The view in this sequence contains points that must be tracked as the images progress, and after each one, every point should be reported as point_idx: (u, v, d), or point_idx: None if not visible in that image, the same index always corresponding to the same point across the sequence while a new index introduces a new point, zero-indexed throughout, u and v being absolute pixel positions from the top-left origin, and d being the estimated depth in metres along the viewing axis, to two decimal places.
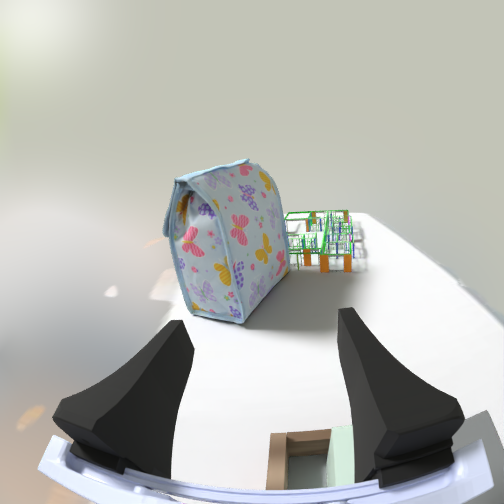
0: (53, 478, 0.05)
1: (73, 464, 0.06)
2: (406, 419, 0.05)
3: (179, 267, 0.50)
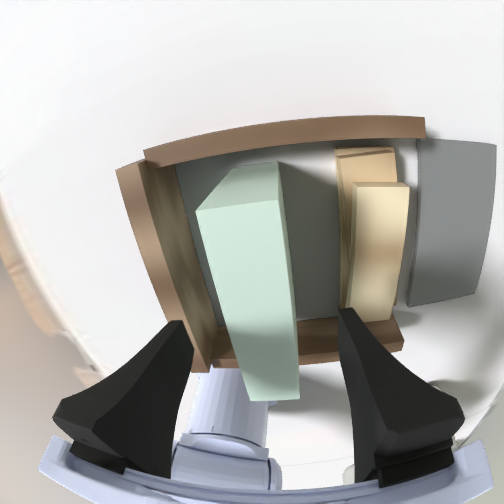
0: (53, 478, 0.05)
1: (73, 464, 0.06)
2: (406, 419, 0.05)
3: None
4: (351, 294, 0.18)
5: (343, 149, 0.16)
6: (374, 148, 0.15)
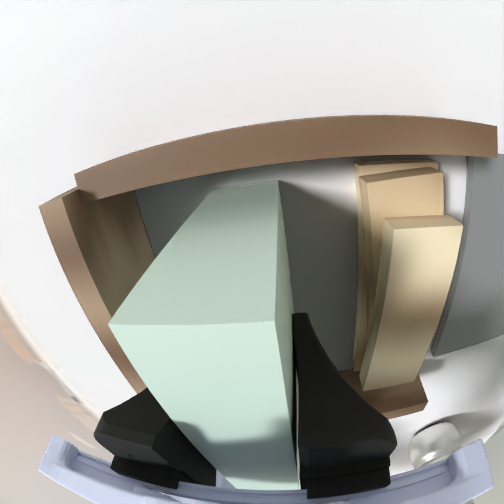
0: (53, 478, 0.05)
1: (73, 464, 0.06)
2: (322, 434, 0.05)
3: None
4: (371, 362, 0.12)
5: (369, 166, 0.10)
6: (412, 164, 0.10)
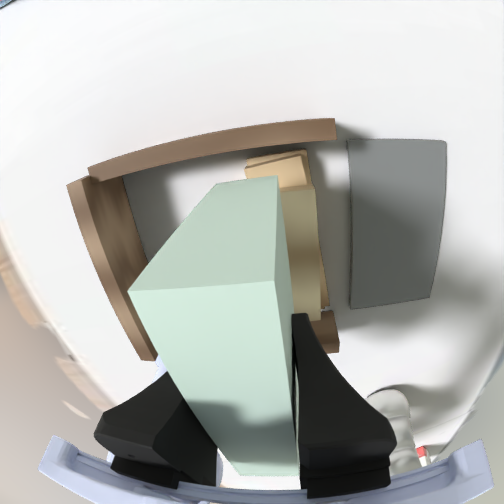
0: (53, 478, 0.05)
1: (73, 464, 0.06)
2: (322, 434, 0.05)
3: None
4: None
5: (253, 159, 0.18)
6: (284, 154, 0.17)
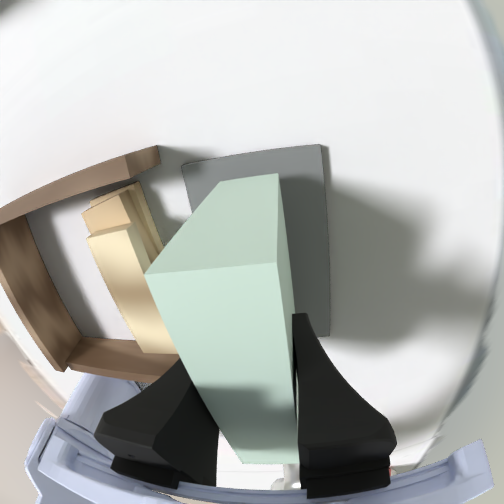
0: (53, 478, 0.05)
1: (73, 464, 0.06)
2: (322, 434, 0.05)
3: None
4: (129, 328, 0.18)
5: (94, 200, 0.17)
6: (116, 191, 0.16)
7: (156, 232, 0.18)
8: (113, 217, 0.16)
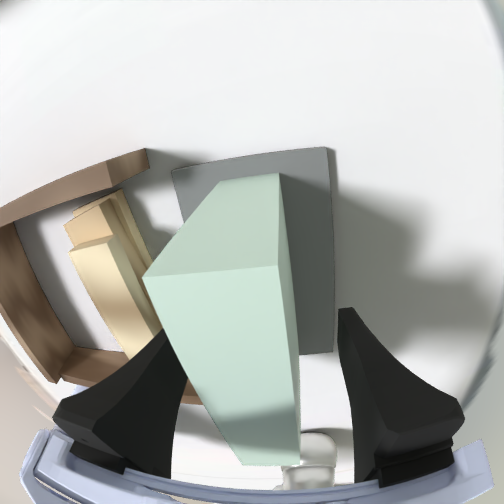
0: (53, 478, 0.05)
1: (73, 464, 0.06)
2: (406, 419, 0.05)
3: None
4: (119, 343, 0.17)
5: (77, 210, 0.15)
6: (98, 201, 0.15)
7: (142, 243, 0.16)
8: (95, 229, 0.14)
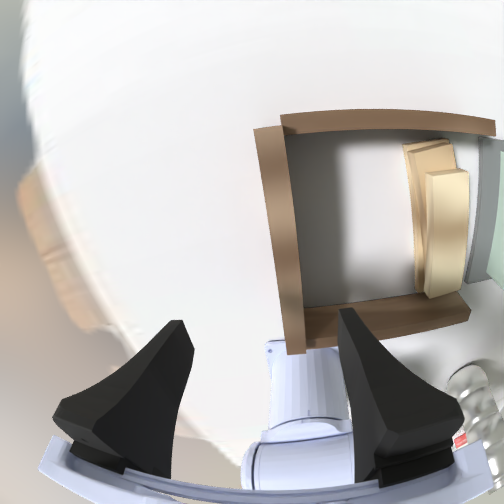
0: (53, 478, 0.05)
1: (73, 464, 0.06)
2: (406, 419, 0.05)
3: None
4: (432, 271, 0.18)
5: (411, 145, 0.16)
6: (434, 141, 0.16)
7: None
8: (444, 162, 0.15)
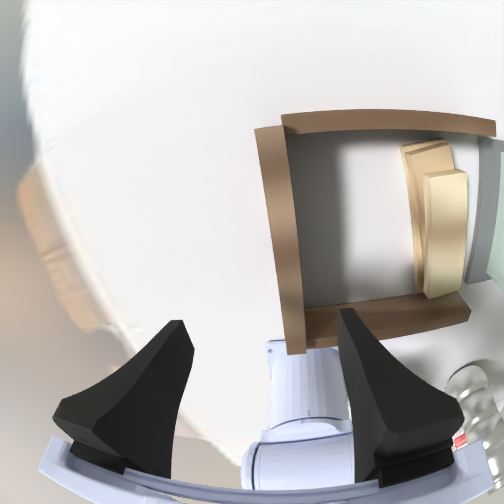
0: (53, 478, 0.05)
1: (73, 464, 0.06)
2: (406, 419, 0.05)
3: None
4: (431, 271, 0.18)
5: (409, 146, 0.16)
6: (432, 142, 0.16)
7: None
8: (442, 163, 0.15)
